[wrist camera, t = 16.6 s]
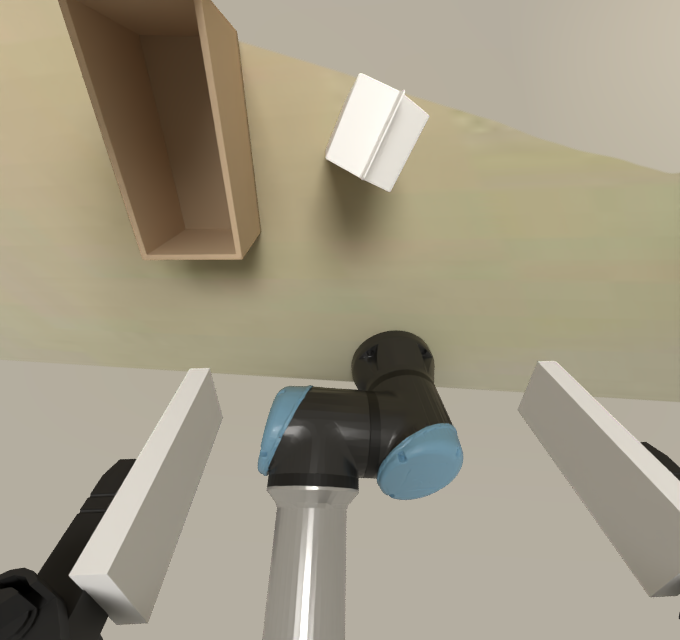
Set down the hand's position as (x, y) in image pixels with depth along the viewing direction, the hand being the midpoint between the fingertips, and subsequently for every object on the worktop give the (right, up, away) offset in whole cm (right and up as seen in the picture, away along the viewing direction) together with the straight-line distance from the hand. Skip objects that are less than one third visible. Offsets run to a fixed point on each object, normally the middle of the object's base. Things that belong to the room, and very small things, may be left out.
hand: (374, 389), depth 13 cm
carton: (-18, +25, +27) cm, 41 cm away
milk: (+1, +26, +27) cm, 38 cm away
